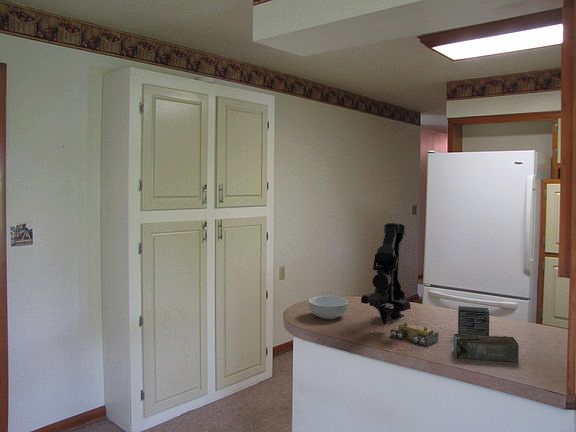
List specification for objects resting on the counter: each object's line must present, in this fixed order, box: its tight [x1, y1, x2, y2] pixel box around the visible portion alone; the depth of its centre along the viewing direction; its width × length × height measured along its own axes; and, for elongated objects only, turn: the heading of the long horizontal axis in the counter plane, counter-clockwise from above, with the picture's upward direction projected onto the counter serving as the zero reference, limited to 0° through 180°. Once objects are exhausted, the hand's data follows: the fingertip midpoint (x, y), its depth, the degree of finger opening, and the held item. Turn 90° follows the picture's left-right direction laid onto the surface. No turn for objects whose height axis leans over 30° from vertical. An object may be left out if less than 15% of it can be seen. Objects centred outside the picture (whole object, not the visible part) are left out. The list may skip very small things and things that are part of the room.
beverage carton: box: [453, 333, 520, 363], centre depth 153 cm, size 8×19×7 cm, turn 77°
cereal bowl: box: [308, 295, 349, 320], centre depth 198 cm, size 17×17×7 cm
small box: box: [457, 305, 490, 336], centre depth 172 cm, size 11×6×10 cm, turn 71°
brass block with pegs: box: [397, 322, 434, 341], centre depth 170 cm, size 4×12×5 cm, turn 45°
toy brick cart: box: [390, 328, 439, 347], centre depth 170 cm, size 9×15×3 cm, turn 45°
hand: (384, 324), depth 179 cm, fingers closed
